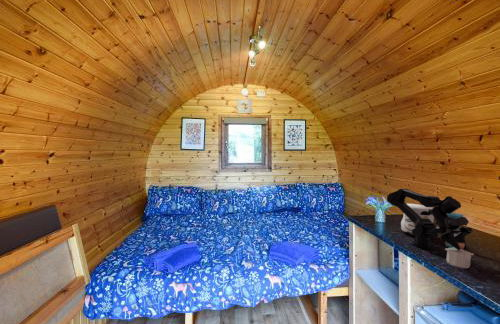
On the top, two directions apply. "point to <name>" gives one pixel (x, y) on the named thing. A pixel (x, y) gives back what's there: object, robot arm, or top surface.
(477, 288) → the top surface
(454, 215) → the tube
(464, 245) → the plunger
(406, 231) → the milk container
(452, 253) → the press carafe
